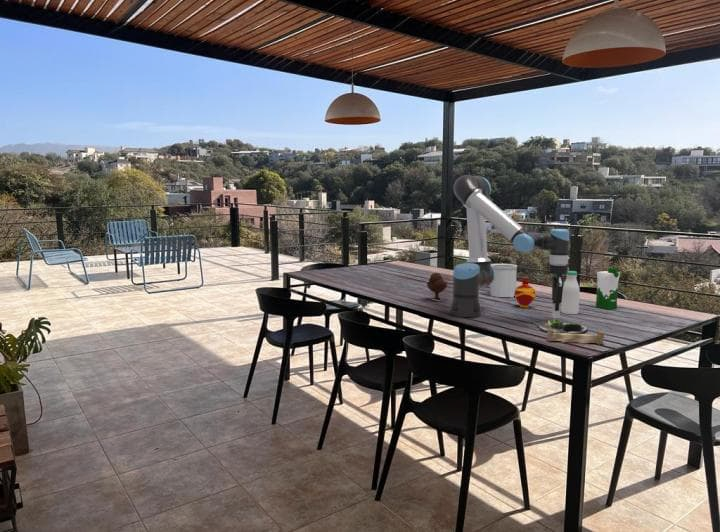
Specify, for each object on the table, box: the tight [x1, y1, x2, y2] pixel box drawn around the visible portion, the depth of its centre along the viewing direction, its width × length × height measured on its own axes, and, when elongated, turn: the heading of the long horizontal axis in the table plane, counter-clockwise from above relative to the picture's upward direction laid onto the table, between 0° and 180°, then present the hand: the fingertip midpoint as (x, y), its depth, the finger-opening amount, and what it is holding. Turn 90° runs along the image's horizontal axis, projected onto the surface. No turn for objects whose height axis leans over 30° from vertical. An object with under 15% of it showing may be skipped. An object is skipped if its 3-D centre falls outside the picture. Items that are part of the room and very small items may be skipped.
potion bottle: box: [514, 276, 537, 309], centre depth 251 cm, size 10×10×15 cm
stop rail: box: [546, 329, 605, 345], centre depth 186 cm, size 19×3×4 cm, turn 80°
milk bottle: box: [560, 270, 580, 315], centre depth 236 cm, size 8×8×20 cm
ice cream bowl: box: [426, 272, 448, 300], centre depth 267 cm, size 11×11×15 cm
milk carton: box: [595, 267, 621, 310], centre depth 249 cm, size 9×9×20 cm
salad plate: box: [535, 318, 589, 334], centre depth 205 cm, size 19×18×5 cm
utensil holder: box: [489, 263, 518, 298], centre depth 281 cm, size 15×15×18 cm
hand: (555, 317), depth 221 cm, fingers closed
